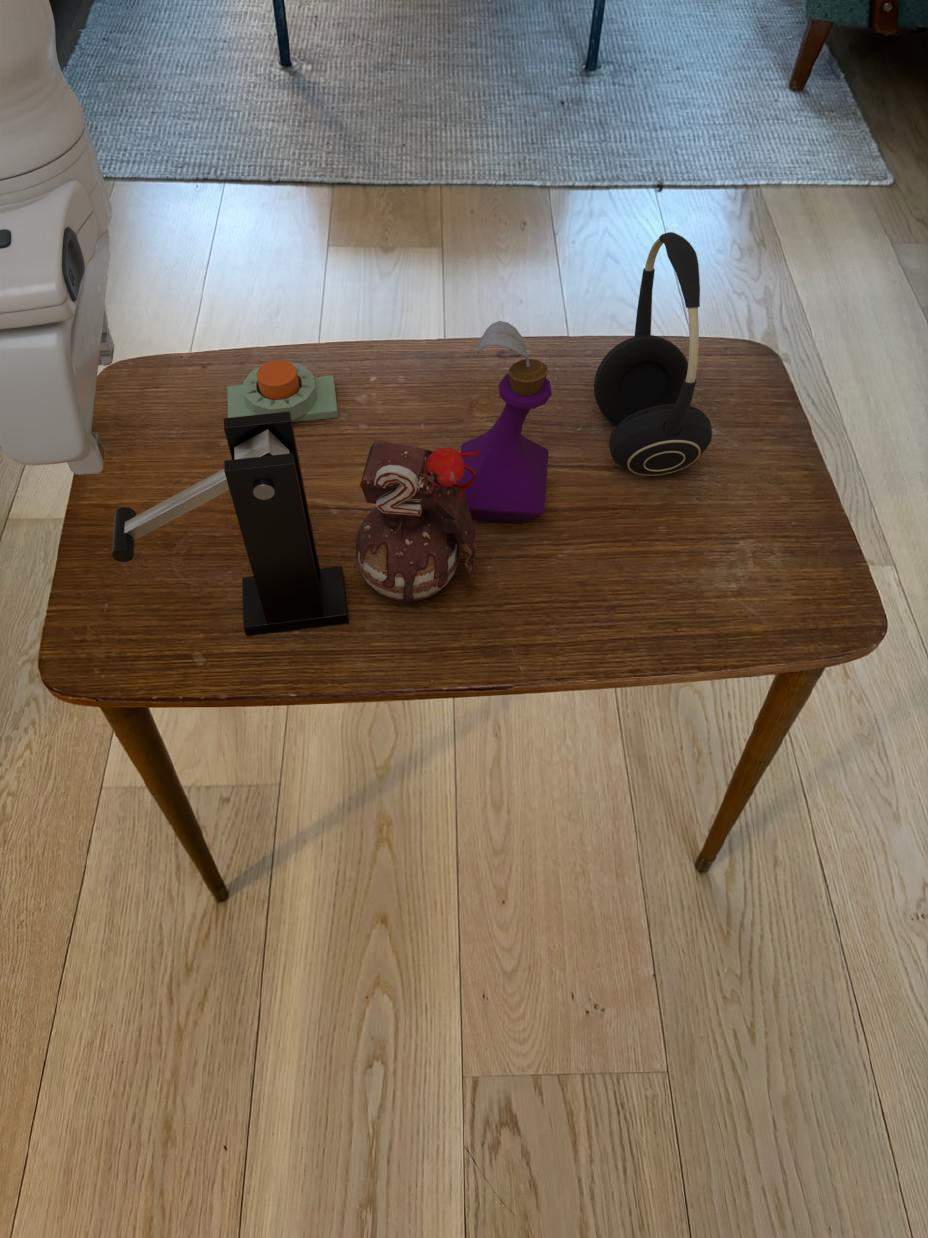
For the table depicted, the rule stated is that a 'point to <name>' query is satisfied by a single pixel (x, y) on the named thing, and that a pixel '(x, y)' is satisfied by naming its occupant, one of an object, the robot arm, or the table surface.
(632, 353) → the headphones
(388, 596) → the chocolate birthday cake
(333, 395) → the button box
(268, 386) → the button
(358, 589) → the table surface
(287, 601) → the bracket
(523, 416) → the perfume bottle
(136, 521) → the lever
